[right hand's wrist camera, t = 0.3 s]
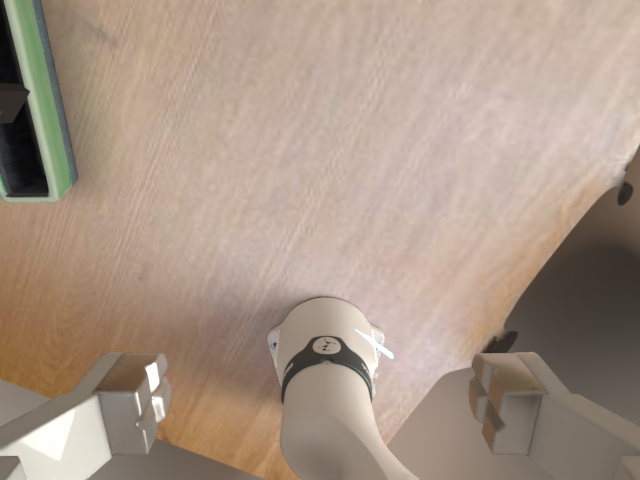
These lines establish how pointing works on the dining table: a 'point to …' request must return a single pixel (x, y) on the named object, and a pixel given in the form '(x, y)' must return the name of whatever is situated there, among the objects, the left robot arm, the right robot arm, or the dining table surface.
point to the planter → (32, 111)
